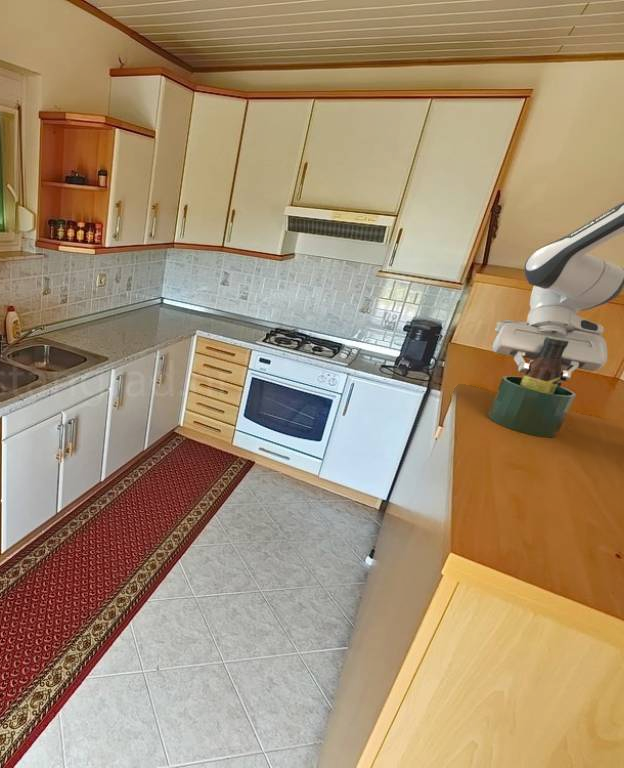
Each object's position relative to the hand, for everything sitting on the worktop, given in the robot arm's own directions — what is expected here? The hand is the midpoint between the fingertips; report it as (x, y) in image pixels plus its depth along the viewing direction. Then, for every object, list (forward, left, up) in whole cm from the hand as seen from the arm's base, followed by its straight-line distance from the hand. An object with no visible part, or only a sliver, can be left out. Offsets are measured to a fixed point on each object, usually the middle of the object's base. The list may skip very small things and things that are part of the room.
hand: (543, 375), depth 111 cm
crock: (0, -1, -13) cm, 13 cm away
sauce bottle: (0, -1, -12) cm, 12 cm away
